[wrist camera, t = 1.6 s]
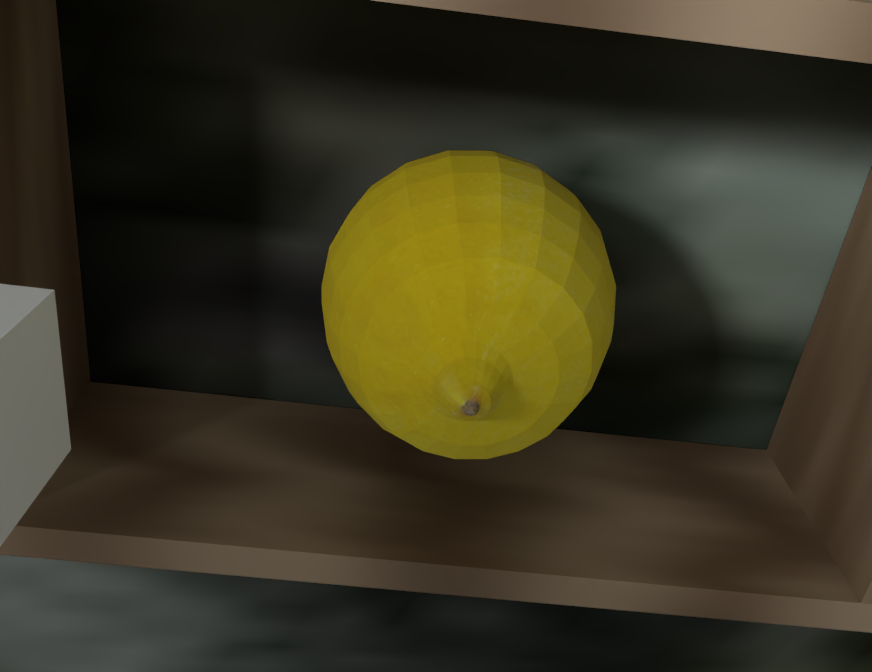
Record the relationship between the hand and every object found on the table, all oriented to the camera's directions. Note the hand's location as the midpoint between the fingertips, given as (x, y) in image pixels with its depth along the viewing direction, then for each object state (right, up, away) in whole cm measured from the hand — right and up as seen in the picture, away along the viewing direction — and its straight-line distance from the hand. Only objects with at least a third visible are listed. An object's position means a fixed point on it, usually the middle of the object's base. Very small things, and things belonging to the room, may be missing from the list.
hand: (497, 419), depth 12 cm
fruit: (0, +4, +7) cm, 8 cm away
